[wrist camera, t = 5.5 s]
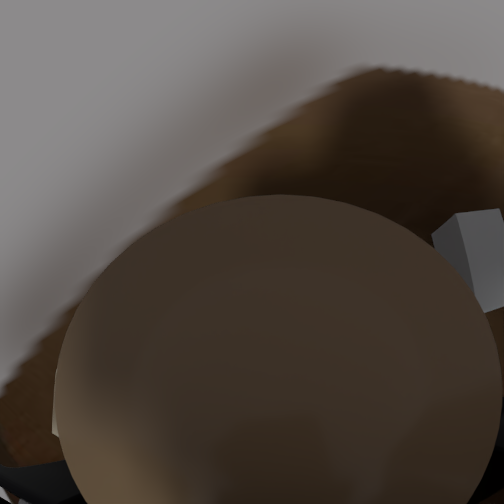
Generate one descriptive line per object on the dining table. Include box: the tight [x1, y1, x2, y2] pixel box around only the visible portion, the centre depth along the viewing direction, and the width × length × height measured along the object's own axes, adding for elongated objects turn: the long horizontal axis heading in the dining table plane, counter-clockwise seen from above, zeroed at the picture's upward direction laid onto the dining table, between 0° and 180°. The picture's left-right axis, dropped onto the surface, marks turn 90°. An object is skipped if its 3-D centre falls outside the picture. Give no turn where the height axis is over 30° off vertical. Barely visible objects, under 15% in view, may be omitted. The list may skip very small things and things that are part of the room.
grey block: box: [431, 208, 504, 313], centre depth 15 cm, size 6×4×4 cm, turn 6°
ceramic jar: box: [55, 194, 502, 504], centre depth 9 cm, size 5×5×14 cm
